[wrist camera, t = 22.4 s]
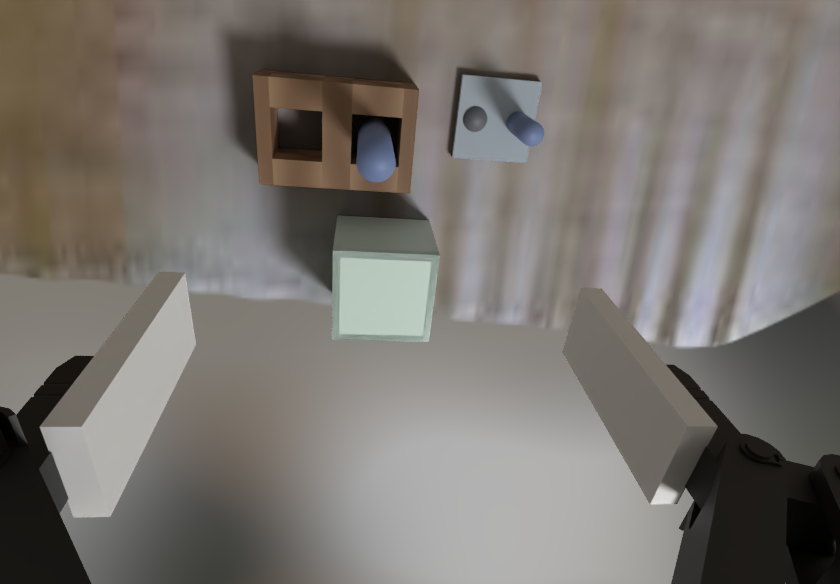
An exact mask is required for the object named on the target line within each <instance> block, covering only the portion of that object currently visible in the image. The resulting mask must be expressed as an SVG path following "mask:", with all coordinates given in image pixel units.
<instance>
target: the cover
mask: <svg viewBox="0 0 840 584" xmlns="http://www.w3.org/2000/svg"><path fill="white" fill-rule="evenodd" d="M439 258H440V254H439V251H438V248H437V244H436V241H435V238H434V235H433V231H432V228H431V225H430V221H429V220H414V219H395V218H377V217H359V216H340V215H337V222H336V229H335V237H334V245H333V279H332V340H371V341H372V340H373V341H415V342H416V341H417V342H429V336H430V329H431V321H432V313H433V305H434V297H435V289H436V281H437V274H438V266H439Z"/></svg>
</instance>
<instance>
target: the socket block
mask: <svg viewBox="0 0 840 584" xmlns="http://www.w3.org/2000/svg"><path fill="white" fill-rule="evenodd" d="M252 77H253V93H254V108H255V124H256V140H257V156H258V171H259V184H264V185H280V186H296V187H312V188H329V189H345V190H361V191H377V192H394V193H410V187H411V175H412V164H413V153H414V141H415V130H416V119H417V108H418V96H419V89H418V88H417V86H416V85H415V84H413V83H402V82H391V81H380V80H369V79H358V78H347V77H336V76H325V75H314V74H303V73H292V72H281V71H270V70H260V71H258V72H257V73H255V74H253V75H252ZM277 108H285V109H298V110H310V111H322V151H319V150H305V149H291V148H279V136H278V113H277ZM353 114H359V115H371V116H384V117H396V118H399V122H398V136H397V150H396V156H395V160H396V167H395V170H394V172H393V174H392V175H391V176H390V177H389V178H388V179H387V180H385V181H382V182H371V181H368V180H366V179H365V178H363V177H362V176H361V174H360V173H359V171H358V169H357V164H356V161H357V153H352V117H353Z"/></svg>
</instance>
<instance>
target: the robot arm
mask: <svg viewBox="0 0 840 584" xmlns="http://www.w3.org/2000/svg"><path fill="white" fill-rule="evenodd" d="M195 345H196V342H195V335H194V329H193V322H192V316H191V310H190V302H189V296H188V289H187V283H186V276H185V273H176V272H159V273H158V274H157V275H156V277H155V278H154V279H153V281H152V282H151V283H150V284H149V286H148V287H147V288H146V290H145V291H144V292H143V294H142V295H141V296H140V297H139V299H138V300H137V301H136V303H135V304H134V305H133V306H132V308H131V309H130V310H129V312H128V313H127V314H126V316H125V317H124V318H123V319H122V321H121V322H120V323H119V325H118V326H117V327H116V328H115V330H114V331H113V332H112V334H111V335H110V337H109V338H108V339H107V340H106V341H105V343H104V344H103V345H102V347H101V348H100V349H99V351H98V352H97V353H96V354H95V356H74V357H73V358H71V359H70V360H68V361H67V362H65V363H63V364H62V365H60V366H59V367H57V368H56V369H55V370H54V371H53V373H52V374H51V375H50V376H49V377H48V378H47V379H46V381H45V382H44V385H42V386H41V387H40V388H39V389H38V390H37V391H36V392H35V394H34V397H31V398H30V399H29V401H28V402H27V403H26V404H25V405H24V406H23V408H22V409H21V410H20V411H19V413H18V414H17V415H16V414H15V413H14V412H13V411H12V410H10V409H9V408H4V407H0V584H91V582H90V580H89V578H88V576H87V573H86V571H85V569H84V567H83V564H82V562H81V560H80V558H79V556H78V553H77V551H76V549H75V547H74V545H73V542H72V540H71V538H70V536H69V534H68V532H67V529H66V527H65V525H64V523H63V521H62V518H61V516H60V514H59V513H60V511H61V510H62V508H63V507H64V505H65V504H66V502H67V501H68V504H69V506H70V509H71V512H72V514H73V517H110V516H111V514H112V512H113V510H114V508H115V506H116V504H117V502H118V500H119V498H120V496H121V494H122V492H123V490H124V488H125V486H126V484H127V482H128V480H129V478H130V476H131V474H132V472H133V470H134V468H135V466H136V464H137V462H138V460H139V458H140V456H141V454H142V452H143V450H144V448H145V446H146V444H147V442H148V440H149V438H150V436H151V433H152V432H153V430H154V428H155V425H156V424H157V422H158V420H159V418H160V416H161V414H162V412H163V410H164V408H165V406H166V403H167V402H168V400H169V398H170V396H171V394H172V392H173V390H174V388H175V385H176V383H177V381H178V379H179V377H180V375H181V373H182V371H183V369H184V367H185V365H186V363H187V361H188V359H189V357H190V355H191V353H192V351H193V349H194V347H195ZM563 354H564V355H565V357H566V359H567V361H568V362H569V364H570V366H571V367H572V369H573V371H574V373H575V375H576V376H577V378H578V380H579V382H580V383H581V385H582V386H583V388H584V390H585V392H586V394H587V395H588V397H589V399H590V400H591V402H592V404H593V406H594V408H595V409H596V411H597V413H598V415H599V416H600V418H601V420H602V421H603V423H604V425H605V427H606V428H607V430H608V432H609V434H610V435H611V437H612V439H613V440H614V442H615V444H616V446H617V448H618V449H619V451H620V453H621V455H622V456H623V458H624V460H625V462H626V463H627V465H628V467H629V469H630V470H631V472H632V474H633V475H634V477H635V479H636V481H637V482H638V484H639V486H640V488H641V489H642V491H643V493H644V495H645V496H646V498H647V500H648V502H649V503H650V504H677V503H678V501H679V499H680V497H681V496H682V494H683V492H684V490H685V488H687V490H688V491H689V493H690V495H691V496H692V497H693V499H694V502H693V503H692V505H691V507H690V509H689V511H688V513H687V514H686V516H685V518H684V520H683V522H682V523H681V525H680V527H679V529H681V530H683V531H684V533H683V537H682V542H681V545H680V550H679V554H678V559H677V562H676V567H675V570H674V575H673V579H672V583H671V584H785V582H786V584H840V456H839V455H833V454H830V455H824V456H823V457H822V458H821V459H820V460H819V461H818V463H817V464H816V466H815V467H811V466H807V465H803V464H799V463H794V462H790V461H786V459H785V458H784V457H783V456H782V454H781V453H780V452H779V451H778V450H777V449H775V448H774V447H773V446H772V445H770V444H769V443H767V442H765V441H763V440H761V439H759V438H757V437H753V436H751V435H748V434H741V433H740V432H739V431H738V430H737V429H736V428H735V427H734V425H733V424H732V423H731V422H730V421H729V420H728V419H727V417H726V416H725V415H724V414H723V413H722V412H721V411H720V409H719V408H718V407H717V406H716V405H715V404H714V403H713V402H712V401H710V400H709V397H708V396H707V395H706V394H705V392H704V391H701V388H700V387H699V386H698V385H697V384H696V382H695V381H694V380H693V379H692V378H691V377H690V376H689V375H688V374H686V373H685V372H684V371H682V370H681V369H679V368H678V367H676V366H675V365H666V364H665V363H664V362H663V361H662V360H661V358H660V357H659V356H658V355H657V354H656V353H655V352H654V351H653V349H652V348H651V347H650V345H649V344H648V343H647V342H646V341H645V339H644V338H643V337H642V336H641V335H640V334H639V332H638V331H637V330H636V329H635V328H634V326H633V325H632V324H631V323H630V322H629V321H628V319H627V318H626V317H625V316H624V315H623V313H622V312H621V311H620V310H619V309H618V307H617V306H616V305H615V304H614V303H613V302H612V300H611V299H610V298H609V297H608V296H607V294H606V293H605V292H604V291H603V290H602V289H596V288H581V290H580V293H579V297H578V300H577V304H576V307H575V310H574V314H573V317H572V321H571V324H570V328H569V331H568V335H567V338H566V341H565V345H564V348H563Z"/></svg>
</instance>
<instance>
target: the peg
mask: <svg viewBox="0 0 840 584" xmlns="http://www.w3.org/2000/svg"><path fill="white" fill-rule="evenodd" d="M356 164H357V169H358V171H359V173H360V174H361V176H362V177H363V178H365V179H366V180H368V181H371V182H382V181H385V180H387V179H388V178H389V177H390V176H391V175H392V174H393V172H394V170H395V167H396V160H395V155H394V150H393V144H392V139H391V134H390V129H389V125H388V123H387V121H386V120H385V119H384V118H382V117H381V116H371V115H369V116H366V117H365V118H364V119H363V120H362V121H361V122H360V124H359V128H358V144H357V161H356Z"/></svg>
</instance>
